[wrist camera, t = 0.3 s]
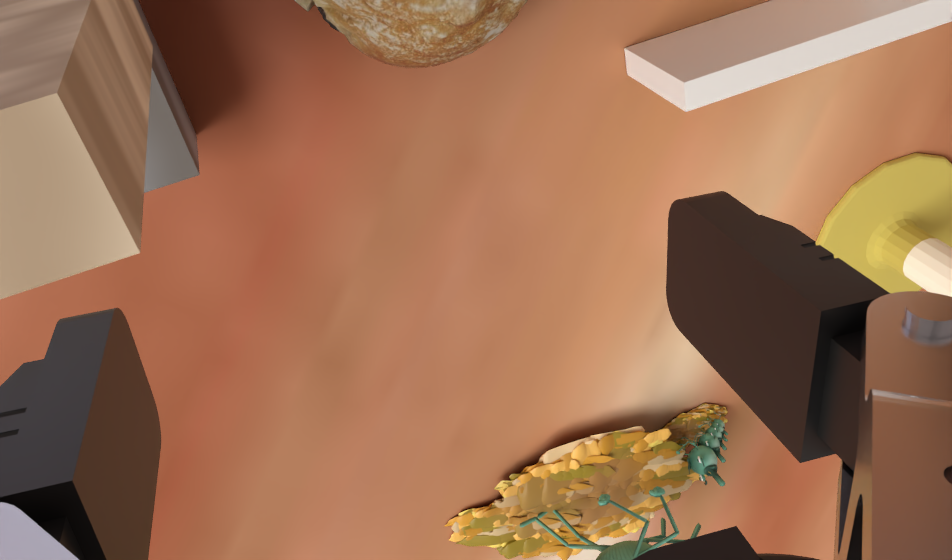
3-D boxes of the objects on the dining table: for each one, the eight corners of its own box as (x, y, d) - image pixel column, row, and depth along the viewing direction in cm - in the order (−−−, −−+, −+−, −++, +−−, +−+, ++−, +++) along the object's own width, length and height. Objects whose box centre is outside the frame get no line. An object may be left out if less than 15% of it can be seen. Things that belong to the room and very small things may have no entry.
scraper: (126, 156, 31) (87, 487, 17) (-51, -203, 25) (-378, -183, 10) (204, 132, 32) (234, 433, 17) (50, -228, 25) (-119, -245, 10)
